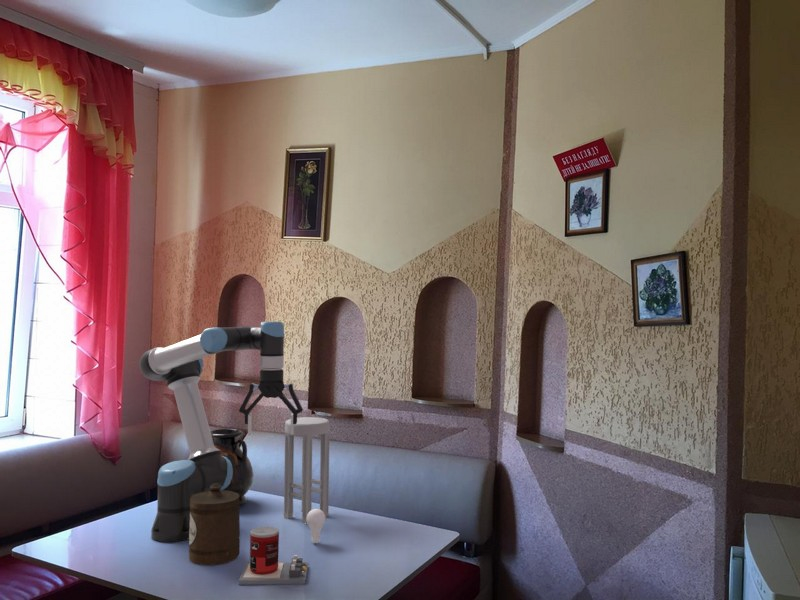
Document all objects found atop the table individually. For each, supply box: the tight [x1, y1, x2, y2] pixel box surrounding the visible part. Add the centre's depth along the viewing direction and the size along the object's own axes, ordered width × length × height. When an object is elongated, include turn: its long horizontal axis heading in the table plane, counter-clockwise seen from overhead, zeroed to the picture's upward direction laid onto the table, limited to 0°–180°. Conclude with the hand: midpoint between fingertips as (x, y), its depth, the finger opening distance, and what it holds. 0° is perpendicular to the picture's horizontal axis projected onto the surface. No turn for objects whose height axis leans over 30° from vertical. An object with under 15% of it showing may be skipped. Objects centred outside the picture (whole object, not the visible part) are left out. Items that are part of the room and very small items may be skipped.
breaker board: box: [238, 554, 309, 586], centre depth 186 cm, size 18×12×4 cm, turn 94°
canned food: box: [249, 526, 280, 575], centre depth 186 cm, size 8×8×11 cm
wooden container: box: [188, 483, 241, 566], centre depth 200 cm, size 15×15×22 cm
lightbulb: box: [306, 508, 326, 544], centre depth 212 cm, size 6×6×11 cm
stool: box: [283, 416, 331, 525], centre depth 238 cm, size 16×16×35 cm
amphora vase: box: [210, 428, 254, 508], centre depth 252 cm, size 22×22×28 cm
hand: (270, 434), depth 213 cm, fingers open, 13 cm apart
